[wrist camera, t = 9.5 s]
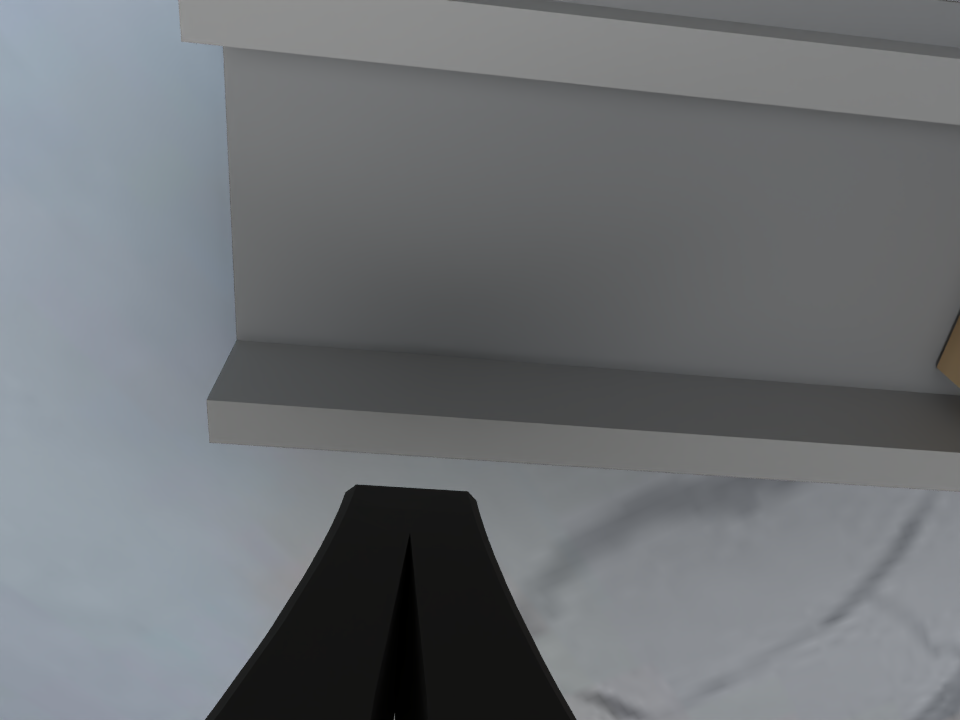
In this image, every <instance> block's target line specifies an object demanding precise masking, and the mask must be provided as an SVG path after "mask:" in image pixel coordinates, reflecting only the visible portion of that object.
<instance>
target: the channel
mask: <svg viewBox="0 0 960 720" xmlns="http://www.w3.org/2000/svg"><path fill="white" fill-rule="evenodd" d="M178 1H179V15H180V29H181V42H190V43H200V44H209V45H218V46H223V55H224V76H225V98H226V119H227V141H228V162H229V184H230V205H231V227H232V248H233V270H234V291H235V313H236V334H237V341H236V343H235V345H234V347H233V349H232V351H231V353H230V355H229V357H228V359H227V361H226V363H225V365H224V367H223V369H222V371H221V373H220V374H219V376H218V378H217V380H216V382H215V384H214V386H213V388H212V390H211V392H210V394H209V396H208V398H207V413H208V428H209V442H210V443H222V444H238V445H253V446H268V447H283V448H299V449H314V450H329V451H344V452H360V453H375V454H390V455H405V456H421V457H436V458H451V459H466V460H482V461H497V462H512V463H527V464H543V465H558V466H573V467H588V468H604V469H619V470H634V471H649V472H665V473H680V474H695V475H710V476H726V477H741V478H756V479H771V480H787V481H802V482H817V483H832V484H848V485H863V486H878V487H893V488H909V489H924V490H939V491H954V492H960V388H959V387H958V386H957V385H955V384H954V383H953V382H952V381H951V380H950V379H949V378H948V377H947V376H945V375H944V374H943V373H942V372H941V371H940V370H939V369H938V368H937V365H938V363H939V361H940V359H941V356H942V354H943V352H944V350H945V347H946V345H947V343H948V341H949V338H950V336H951V334H952V332H953V329H954V327H955V325H956V323H957V320H958V318H959V316H960V2H955V1H946V0H178Z"/></svg>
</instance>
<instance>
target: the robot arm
mask: <svg viewBox="0 0 960 720" xmlns="http://www.w3.org/2000/svg"><path fill="white" fill-rule="evenodd" d="M394 714H395V720H576V718H575V716H574V714H573V713H572V711H571V709H570V707H569V706H568V704H567V702H566V701H565V699H564V697H563V695H562V694H561V692H560V690H559V688H558V686H557V685H556V683H555V681H554V679H553V677H552V675H551V673H550V672H549V670H548V668H547V666H546V664H545V662H544V660H543V659H542V657H541V655H540V652H539V650H538V648H537V646H536V644H535V642H534V640H533V638H532V636H531V634H530V632H529V630H528V628H527V626H526V624H525V622H524V620H523V618H522V616H521V614H520V612H519V610H518V608H517V606H516V604H515V602H514V599H513V597H512V595H511V593H510V591H509V589H508V586H507V584H506V582H505V579H504V577H503V575H502V572H501V570H500V567H499V565H498V563H497V560H496V558H495V555H494V553H493V550H492V548H491V545H490V542H489V540H488V537H487V534H486V531H485V528H484V525H483V522H482V519H481V516H480V513H479V509H478V505H477V501H476V500H475V499H474V498H473V497H472V495H471V494H470V493H469V492H467V491H451V490H435V489H419V488H403V487H387V486H371V485H355V486H354V487H352V488H351V489H350V490H348V491H347V492H345V495H344V498H343V500H342V503H341V506H340V508H339V511H338V513H337V515H336V517H335V519H334V521H333V524H332V526H331V528H330V530H329V532H328V534H327V535H326V537H325V539H324V541H323V543H322V545H321V547H320V549H319V550H318V552H317V554H316V556H315V557H314V559H313V561H312V563H311V564H310V566H309V568H308V570H307V571H306V573H305V575H304V577H303V578H302V580H301V581H300V583H299V584H298V586H297V588H296V589H295V591H294V592H293V594H292V596H291V597H290V599H289V600H288V602H287V603H286V605H285V607H284V608H283V610H282V611H281V613H280V614H279V616H278V618H277V619H276V621H275V622H274V624H273V626H272V627H271V629H270V630H269V632H268V633H267V635H266V636H265V638H264V639H263V641H262V642H261V643H260V645H259V646H258V648H257V649H256V650H255V652H254V653H253V655H252V656H251V657H250V659H249V660H248V662H247V663H246V664H245V666H244V667H243V668H242V670H241V671H240V673H239V674H238V675H237V677H236V678H235V679H234V681H233V682H232V684H231V685H230V686H229V688H228V689H227V691H226V692H225V693H224V695H223V696H222V697H221V699H220V700H219V702H218V703H217V704H216V706H215V707H214V709H213V710H212V711H211V712H210V714H209V715H208V716H207V718H206V719H205V720H394Z"/></svg>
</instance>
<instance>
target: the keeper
mask: <svg viewBox="0 0 960 720" xmlns="http://www.w3.org/2000/svg"><path fill="white" fill-rule="evenodd" d="M937 368H938V369H939V370H940V371H941V372H942V373H943V374H944V375H945V376H947V377H948V378H949V379H950V380H951V381H952V382H953V383H954V384H955V385H957V386H958V387H959V388H960V316H959V318H958V320H957V323H956V325H955V327H954V329H953V332H952V334H951V336H950V338H949V341H948V343H947V345H946V347H945V350H944V352H943V354H942V356H941V359H940V361H939V363H938V365H937Z"/></svg>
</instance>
